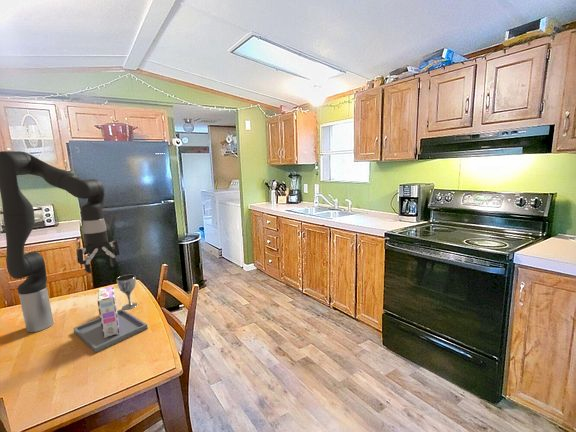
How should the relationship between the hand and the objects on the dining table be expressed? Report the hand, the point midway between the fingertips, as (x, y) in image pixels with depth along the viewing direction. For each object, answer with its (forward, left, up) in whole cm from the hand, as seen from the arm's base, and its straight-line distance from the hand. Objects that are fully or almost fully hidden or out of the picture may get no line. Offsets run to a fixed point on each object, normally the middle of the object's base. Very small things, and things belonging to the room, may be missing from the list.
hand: (101, 269), depth 119 cm
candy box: (0, 0, -27) cm, 27 cm away
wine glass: (-16, +15, -27) cm, 35 cm away
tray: (0, 0, -27) cm, 27 cm away
